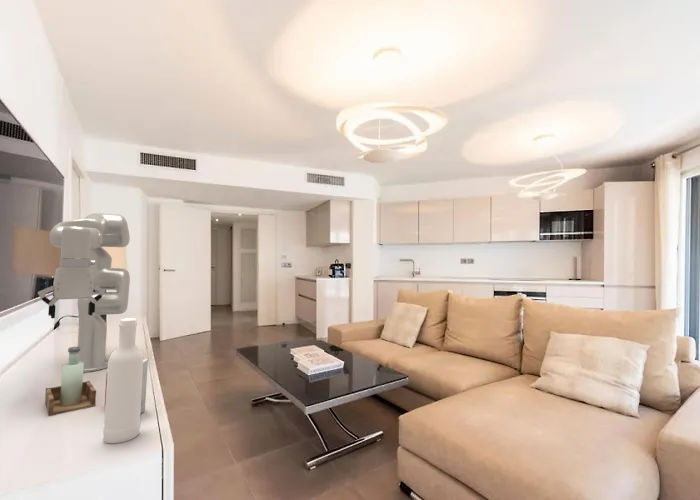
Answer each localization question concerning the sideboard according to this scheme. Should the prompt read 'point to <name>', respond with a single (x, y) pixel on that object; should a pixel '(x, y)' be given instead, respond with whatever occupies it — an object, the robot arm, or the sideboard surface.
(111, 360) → the bottle
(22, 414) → the sideboard surface
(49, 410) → the u rest
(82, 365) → the bottle
